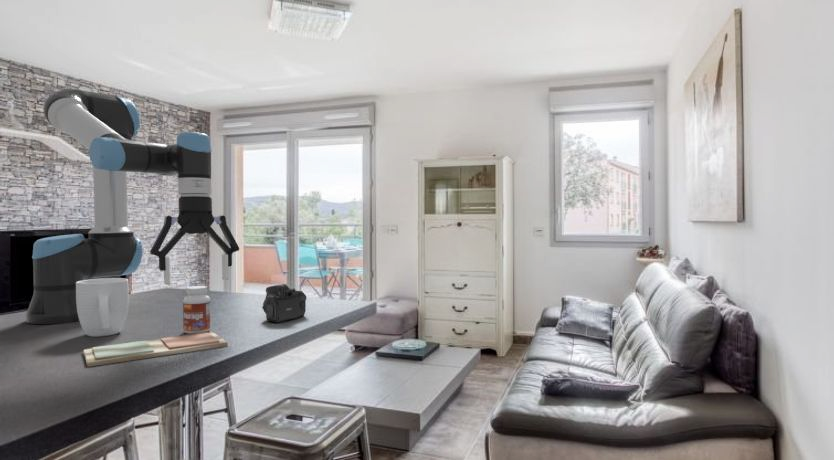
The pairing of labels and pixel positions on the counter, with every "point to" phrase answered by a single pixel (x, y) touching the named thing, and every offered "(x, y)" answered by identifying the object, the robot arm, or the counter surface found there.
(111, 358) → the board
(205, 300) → the pill bottle
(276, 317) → the camera
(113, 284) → the mug
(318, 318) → the counter surface
